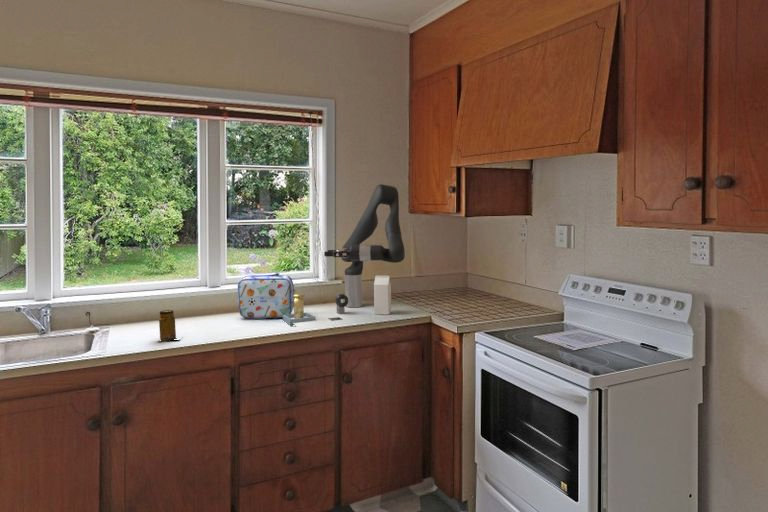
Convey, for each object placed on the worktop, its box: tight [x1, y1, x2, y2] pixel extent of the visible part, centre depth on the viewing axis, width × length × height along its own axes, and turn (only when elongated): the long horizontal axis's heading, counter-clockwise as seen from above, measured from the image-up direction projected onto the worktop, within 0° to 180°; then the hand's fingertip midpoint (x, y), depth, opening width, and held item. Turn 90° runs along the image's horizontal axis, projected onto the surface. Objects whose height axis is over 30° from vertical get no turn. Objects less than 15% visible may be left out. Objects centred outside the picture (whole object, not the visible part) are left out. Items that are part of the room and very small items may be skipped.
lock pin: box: [293, 293, 305, 319], centre depth 243 cm, size 5×5×12 cm
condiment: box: [157, 309, 177, 343], centre depth 214 cm, size 7×8×12 cm
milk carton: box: [373, 275, 392, 316], centre depth 261 cm, size 7×7×19 cm
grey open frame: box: [282, 312, 316, 327], centre depth 244 cm, size 12×12×3 cm
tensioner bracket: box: [327, 292, 348, 322], centre depth 248 cm, size 18×14×11 cm
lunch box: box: [237, 272, 297, 320], centre depth 255 cm, size 28×10×22 cm, turn 94°
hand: (326, 253), depth 242 cm, fingers open, 8 cm apart
